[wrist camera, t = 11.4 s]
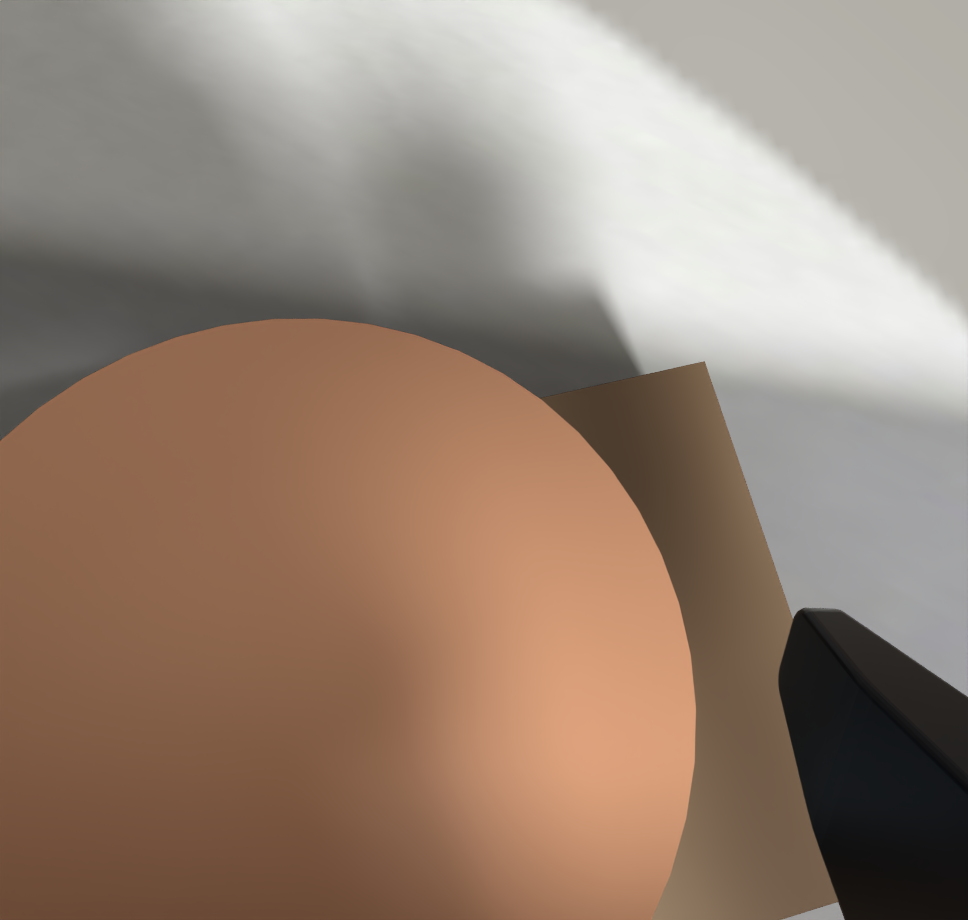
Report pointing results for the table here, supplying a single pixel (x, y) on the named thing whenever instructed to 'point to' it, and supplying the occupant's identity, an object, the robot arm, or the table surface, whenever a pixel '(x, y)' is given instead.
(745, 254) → the table surface
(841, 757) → the robot arm
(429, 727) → the peg
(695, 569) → the wooden peg holder
